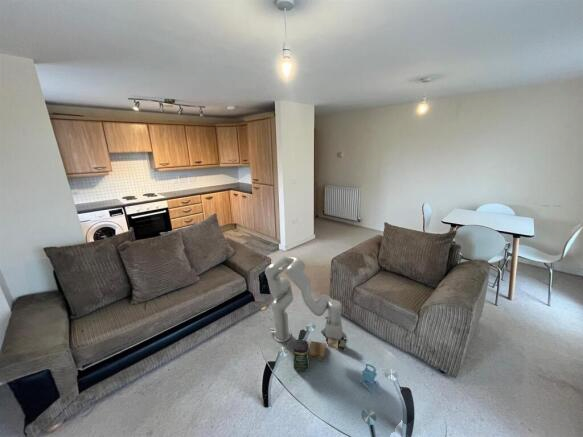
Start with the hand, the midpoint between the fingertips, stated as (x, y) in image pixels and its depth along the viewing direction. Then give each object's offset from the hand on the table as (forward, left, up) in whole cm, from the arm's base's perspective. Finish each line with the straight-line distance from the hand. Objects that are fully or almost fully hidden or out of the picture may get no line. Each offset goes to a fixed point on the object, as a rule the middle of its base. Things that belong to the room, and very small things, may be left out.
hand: (333, 343), depth 148 cm
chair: (+21, -12, -14) cm, 27 cm away
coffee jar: (-19, -9, -14) cm, 25 cm away
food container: (+3, +12, -14) cm, 18 cm away
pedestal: (-10, +3, -14) cm, 17 cm away
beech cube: (0, 0, -1) cm, 1 cm away
